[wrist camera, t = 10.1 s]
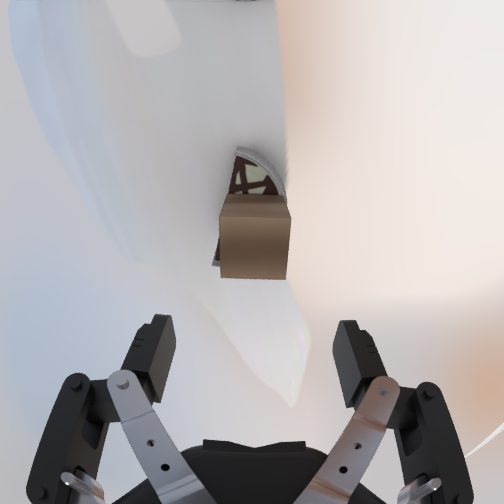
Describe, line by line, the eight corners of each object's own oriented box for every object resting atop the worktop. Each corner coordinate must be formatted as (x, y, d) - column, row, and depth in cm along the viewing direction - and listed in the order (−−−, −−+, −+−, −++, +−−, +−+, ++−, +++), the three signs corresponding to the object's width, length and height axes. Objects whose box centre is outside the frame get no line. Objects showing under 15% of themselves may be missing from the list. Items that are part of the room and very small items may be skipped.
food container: (267, 241, 38) (270, 282, 29) (221, 231, 37) (210, 270, 28) (291, 151, 33) (305, 164, 24) (241, 139, 32) (236, 148, 23)
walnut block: (227, 193, 25) (219, 216, 20) (283, 195, 25) (291, 218, 20) (227, 244, 27) (220, 277, 22) (279, 246, 27) (285, 279, 22)
